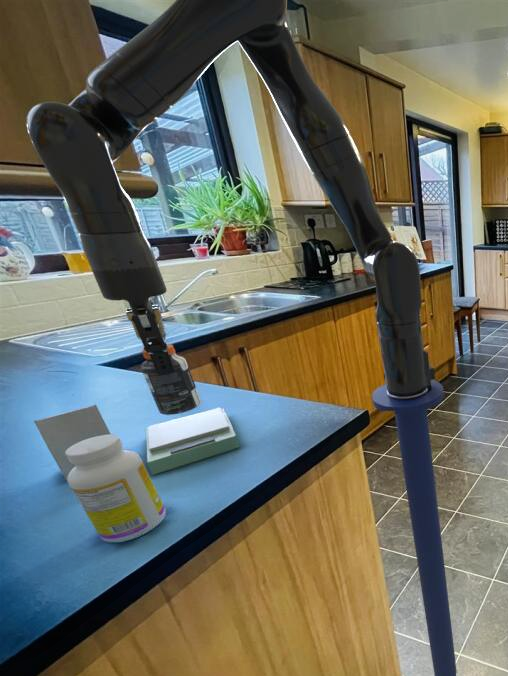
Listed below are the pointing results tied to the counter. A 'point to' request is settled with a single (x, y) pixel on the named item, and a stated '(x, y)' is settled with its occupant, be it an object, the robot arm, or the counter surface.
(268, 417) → the counter surface
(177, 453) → the scale
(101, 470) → the supplement bottle
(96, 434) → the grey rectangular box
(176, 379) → the pill bottle
